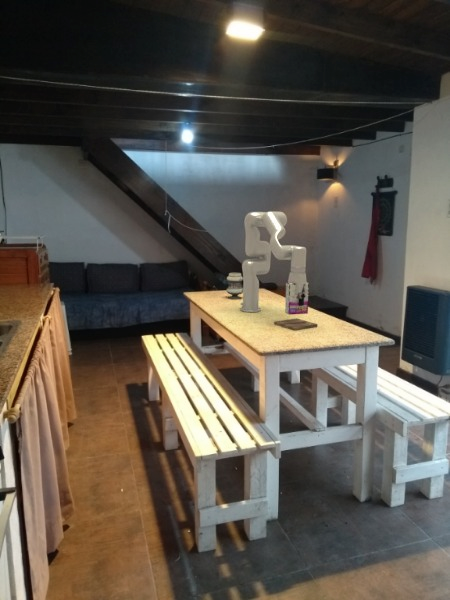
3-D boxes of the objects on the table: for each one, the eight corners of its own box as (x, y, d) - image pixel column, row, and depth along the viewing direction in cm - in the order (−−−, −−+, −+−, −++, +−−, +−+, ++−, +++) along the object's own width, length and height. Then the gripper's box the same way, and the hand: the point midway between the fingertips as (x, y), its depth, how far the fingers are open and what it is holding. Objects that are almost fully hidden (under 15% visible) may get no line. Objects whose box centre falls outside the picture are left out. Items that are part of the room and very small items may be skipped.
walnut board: (274, 324, 236) (274, 321, 236) (296, 320, 245) (296, 318, 245) (294, 330, 223) (294, 327, 223) (317, 326, 232) (317, 324, 232)
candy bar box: (303, 311, 237) (305, 281, 234) (307, 313, 232) (309, 283, 229) (284, 312, 234) (285, 282, 231) (288, 314, 229) (289, 283, 226)
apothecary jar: (224, 297, 317) (224, 272, 314) (240, 296, 321) (240, 272, 317) (229, 300, 306) (229, 274, 303) (245, 299, 309) (246, 274, 306)
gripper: (281, 269, 234) (280, 302, 237) (304, 272, 220) (302, 308, 223) (292, 268, 238) (290, 301, 241) (315, 271, 224) (313, 306, 227)
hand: (296, 304), depth 232 cm, fingers closed on candy bar box, 6 cm apart
